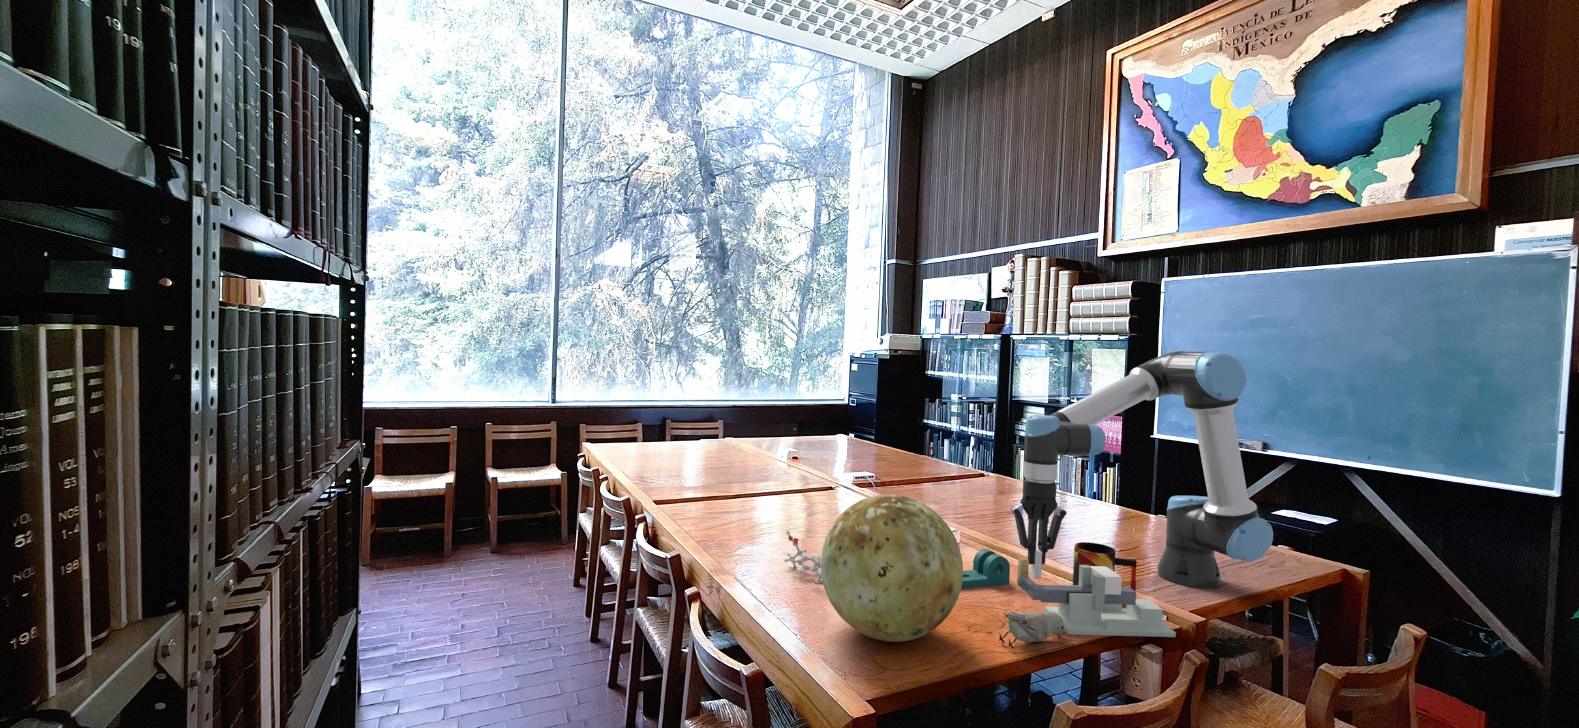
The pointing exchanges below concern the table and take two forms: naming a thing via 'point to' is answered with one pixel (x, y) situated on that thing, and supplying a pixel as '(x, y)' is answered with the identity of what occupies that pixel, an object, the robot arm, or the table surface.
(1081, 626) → the stepped block fixture
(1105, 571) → the block
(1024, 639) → the decorative bird
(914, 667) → the table surface
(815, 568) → the molecular model
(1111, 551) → the mug
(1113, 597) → the bent bar
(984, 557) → the bracket
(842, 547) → the globe
